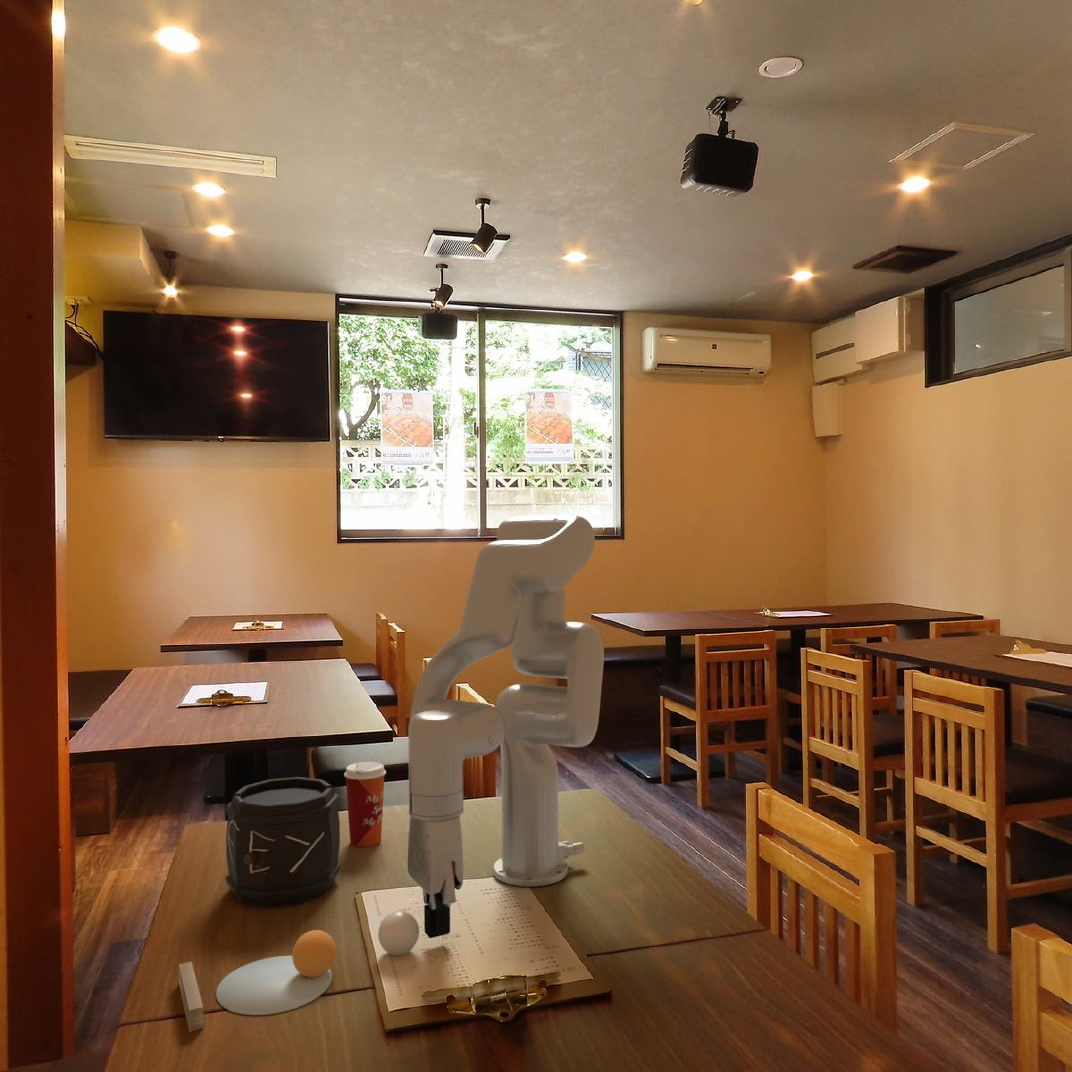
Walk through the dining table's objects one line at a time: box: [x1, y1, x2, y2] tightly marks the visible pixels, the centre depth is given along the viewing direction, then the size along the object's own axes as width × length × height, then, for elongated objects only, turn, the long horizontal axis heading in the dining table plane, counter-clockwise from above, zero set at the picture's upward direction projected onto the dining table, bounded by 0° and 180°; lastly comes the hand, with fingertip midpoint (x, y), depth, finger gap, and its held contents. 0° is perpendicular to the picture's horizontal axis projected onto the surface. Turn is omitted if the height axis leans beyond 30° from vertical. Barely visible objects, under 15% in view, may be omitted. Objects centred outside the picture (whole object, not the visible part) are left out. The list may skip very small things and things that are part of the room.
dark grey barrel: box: [224, 776, 342, 909], centre depth 138 cm, size 18×18×16 cm
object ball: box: [291, 929, 337, 977], centre depth 111 cm, size 6×6×6 cm
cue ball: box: [377, 910, 420, 956], centre depth 116 cm, size 6×6×6 cm
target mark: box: [215, 955, 333, 1016], centre depth 108 cm, size 14×14×1 cm
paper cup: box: [343, 761, 387, 848], centre depth 159 cm, size 8×8×14 cm
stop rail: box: [178, 961, 204, 1033], centre depth 104 cm, size 2×12×2 cm, turn 28°
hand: (437, 933), depth 119 cm, fingers closed
